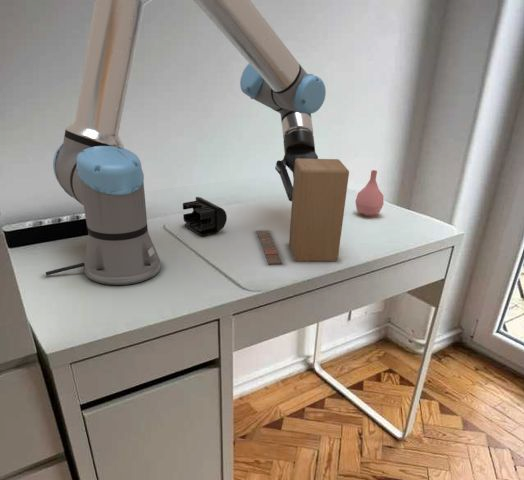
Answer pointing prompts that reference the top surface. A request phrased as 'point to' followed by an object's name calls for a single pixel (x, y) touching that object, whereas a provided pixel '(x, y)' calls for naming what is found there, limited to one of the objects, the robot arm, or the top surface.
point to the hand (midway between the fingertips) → (307, 226)
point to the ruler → (269, 248)
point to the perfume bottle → (370, 197)
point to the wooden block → (317, 209)
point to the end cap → (204, 217)
